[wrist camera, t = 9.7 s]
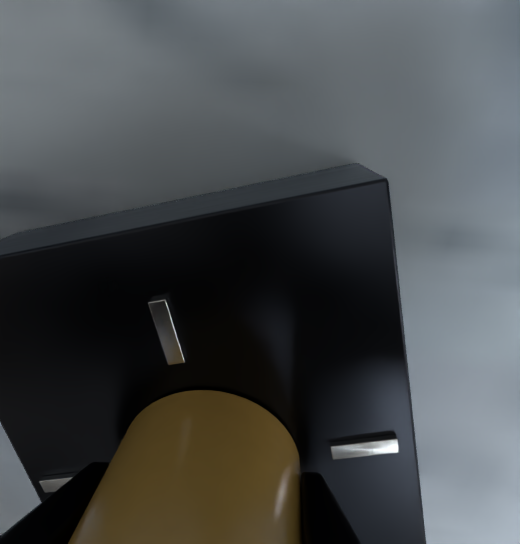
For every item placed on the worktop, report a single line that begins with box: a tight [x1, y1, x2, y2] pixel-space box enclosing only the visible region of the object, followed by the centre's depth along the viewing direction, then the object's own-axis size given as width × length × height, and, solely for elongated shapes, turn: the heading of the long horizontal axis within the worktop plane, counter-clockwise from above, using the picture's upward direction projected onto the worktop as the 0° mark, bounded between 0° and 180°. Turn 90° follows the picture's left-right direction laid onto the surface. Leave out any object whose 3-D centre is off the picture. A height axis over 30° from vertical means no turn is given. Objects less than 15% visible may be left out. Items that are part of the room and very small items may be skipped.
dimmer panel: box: [0, 163, 426, 544], centre depth 10 cm, size 11×9×3 cm
